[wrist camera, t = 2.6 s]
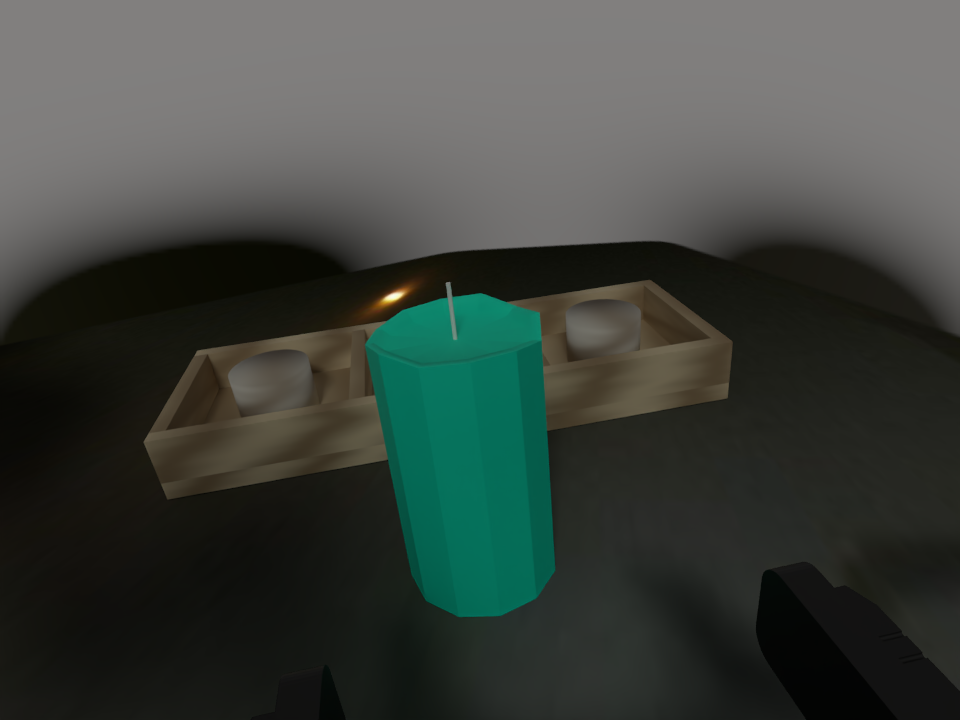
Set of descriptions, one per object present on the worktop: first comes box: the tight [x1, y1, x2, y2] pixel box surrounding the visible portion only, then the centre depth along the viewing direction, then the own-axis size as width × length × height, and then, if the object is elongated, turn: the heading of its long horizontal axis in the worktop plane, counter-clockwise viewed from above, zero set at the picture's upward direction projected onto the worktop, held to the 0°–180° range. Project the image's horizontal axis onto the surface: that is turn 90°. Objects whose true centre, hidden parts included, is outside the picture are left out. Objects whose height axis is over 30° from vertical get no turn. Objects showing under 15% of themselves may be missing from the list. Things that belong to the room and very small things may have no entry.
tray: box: [144, 280, 733, 500], centre depth 36 cm, size 30×11×4 cm, turn 100°
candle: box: [365, 282, 555, 617], centre depth 22 cm, size 6×6×12 cm
